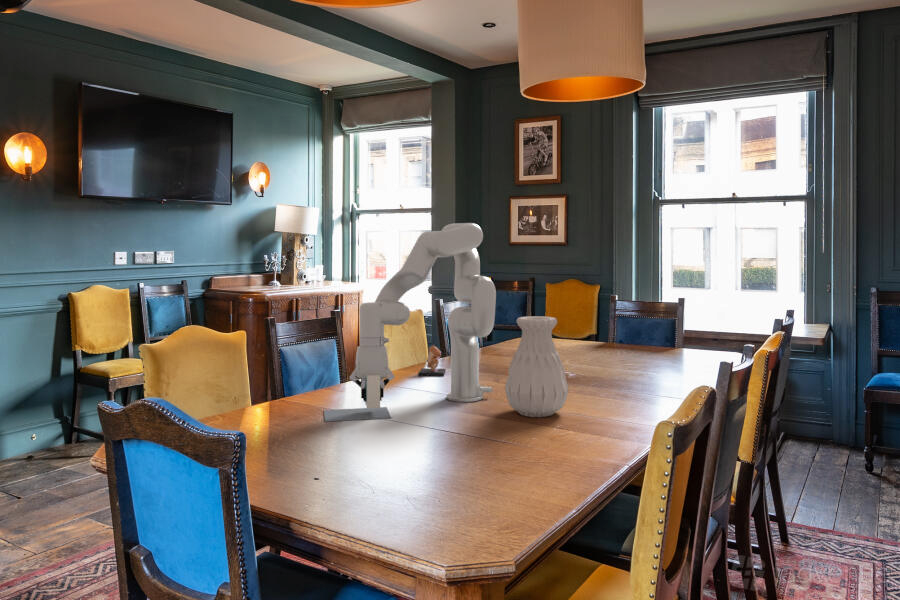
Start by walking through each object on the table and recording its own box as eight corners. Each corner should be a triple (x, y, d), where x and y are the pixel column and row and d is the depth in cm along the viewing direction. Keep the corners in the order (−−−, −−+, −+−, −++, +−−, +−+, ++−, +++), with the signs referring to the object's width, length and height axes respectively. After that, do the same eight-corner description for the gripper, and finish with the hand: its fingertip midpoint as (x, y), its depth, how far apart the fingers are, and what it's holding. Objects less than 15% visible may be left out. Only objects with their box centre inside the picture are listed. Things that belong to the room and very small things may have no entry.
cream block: (377, 402, 221) (377, 371, 220) (380, 407, 214) (380, 375, 213) (364, 403, 220) (364, 372, 219) (366, 408, 213) (366, 376, 212)
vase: (527, 424, 204) (528, 323, 202) (492, 410, 222) (492, 316, 219) (581, 416, 213) (583, 319, 211) (544, 403, 231) (544, 313, 229)
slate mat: (386, 407, 225) (386, 406, 225) (391, 418, 212) (391, 417, 211) (323, 411, 221) (323, 410, 221) (325, 422, 208) (325, 421, 207)
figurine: (443, 376, 279) (443, 347, 278) (418, 376, 279) (418, 347, 278) (445, 372, 289) (445, 343, 288) (421, 371, 289) (421, 343, 288)
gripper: (397, 340, 221) (397, 396, 222) (344, 341, 218) (344, 398, 219) (400, 343, 214) (400, 401, 215) (345, 344, 210) (346, 404, 212)
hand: (372, 399), depth 217 cm, fingers closed on cream block, 4 cm apart
